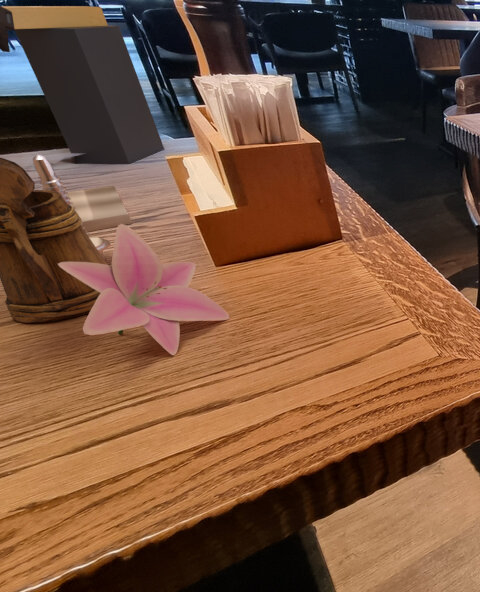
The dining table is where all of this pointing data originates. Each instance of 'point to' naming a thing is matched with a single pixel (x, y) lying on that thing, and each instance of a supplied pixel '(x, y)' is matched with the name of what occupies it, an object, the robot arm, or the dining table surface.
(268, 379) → the dining table surface
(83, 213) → the board
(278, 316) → the dining table surface
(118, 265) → the lily
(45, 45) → the pedestal
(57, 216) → the wooden mug
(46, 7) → the yellow bar
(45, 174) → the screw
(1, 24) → the robot arm
